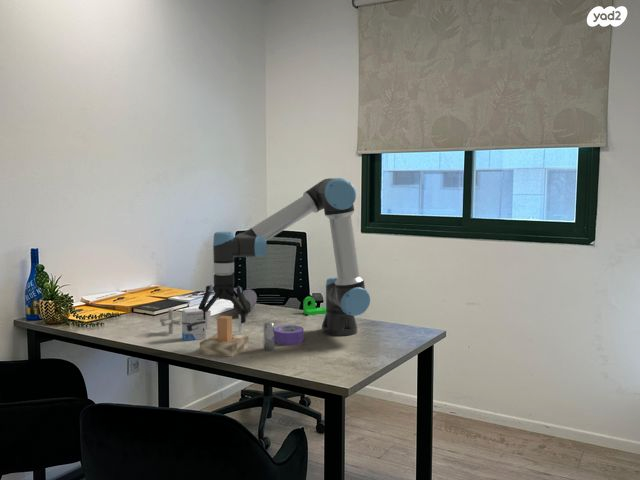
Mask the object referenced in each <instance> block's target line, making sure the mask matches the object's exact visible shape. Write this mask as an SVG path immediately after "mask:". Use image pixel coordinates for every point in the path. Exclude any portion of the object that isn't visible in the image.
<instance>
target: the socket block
mask: <svg viewBox="0 0 640 480" xmlns="http://www.w3.org/2000/svg"><path fill="white" fill-rule="evenodd" d="M248 347H249V335H241V334H232V340H231V341H229V342H223V341H217V333H215V334H213V335H211V336H209V337H206V339H203V340H202V341H199V354H205V355H213V354H214V356H222V355H223V356H225V357H233V356H235V355H237V354H238V352H239V353H241V352H242V351H244V350H245V349H247V348H248Z"/></svg>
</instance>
